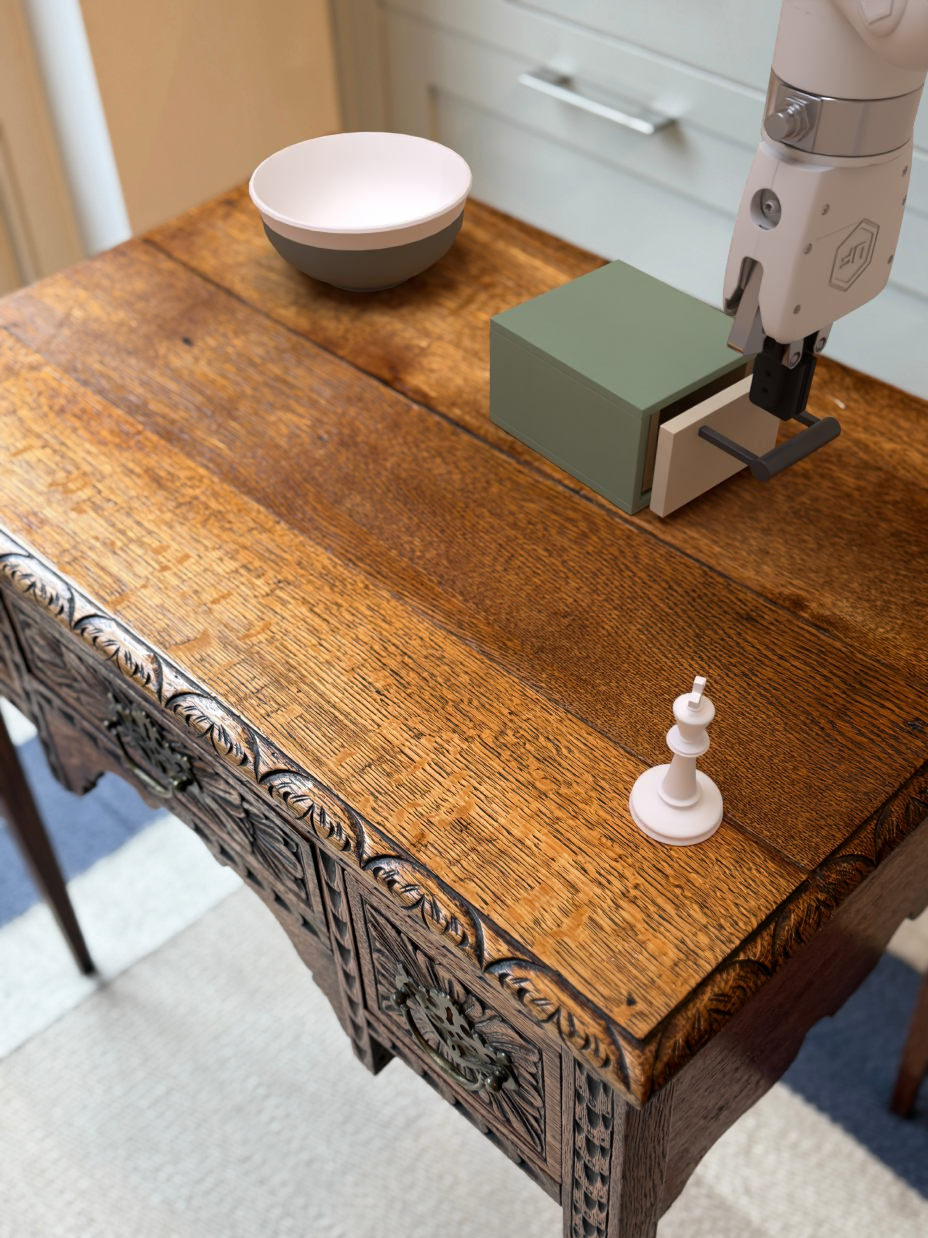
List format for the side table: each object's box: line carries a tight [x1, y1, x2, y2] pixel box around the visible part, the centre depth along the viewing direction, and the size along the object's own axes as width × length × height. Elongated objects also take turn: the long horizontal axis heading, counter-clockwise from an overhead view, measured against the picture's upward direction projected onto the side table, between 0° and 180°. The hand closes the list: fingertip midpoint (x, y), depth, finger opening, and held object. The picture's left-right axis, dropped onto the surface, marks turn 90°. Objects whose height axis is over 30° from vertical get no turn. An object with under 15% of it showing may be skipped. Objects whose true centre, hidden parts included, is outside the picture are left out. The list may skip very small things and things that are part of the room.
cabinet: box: [489, 259, 757, 516], centre depth 83 cm, size 15×13×9 cm
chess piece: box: [628, 675, 724, 847], centre depth 59 cm, size 5×5×10 cm
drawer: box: [641, 358, 842, 519], centre depth 80 cm, size 20×11×7 cm, turn 40°
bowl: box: [248, 131, 474, 293], centre depth 101 cm, size 19×19×8 cm
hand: (776, 406), depth 73 cm, fingers closed
